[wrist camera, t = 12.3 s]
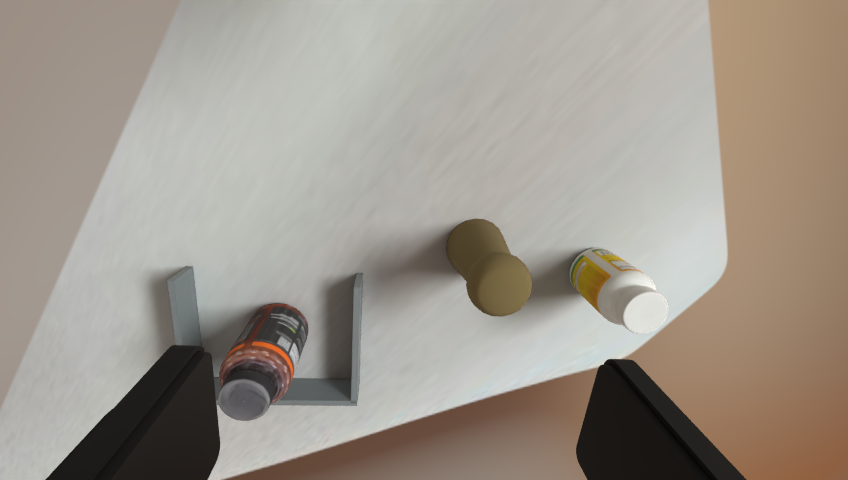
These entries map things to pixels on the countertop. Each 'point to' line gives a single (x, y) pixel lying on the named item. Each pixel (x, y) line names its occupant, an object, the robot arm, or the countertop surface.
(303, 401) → the fence
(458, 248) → the cork
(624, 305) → the supplement bottle
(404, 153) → the countertop surface
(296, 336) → the supplement bottle
